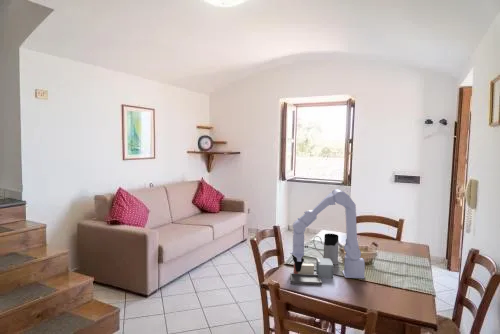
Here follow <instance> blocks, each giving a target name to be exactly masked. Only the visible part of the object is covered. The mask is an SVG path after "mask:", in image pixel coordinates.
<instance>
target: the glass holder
mask: <svg viewBox="0 0 500 334" xmlns="http://www.w3.org/2000/svg"><path fill="white" fill-rule="evenodd" d="M315 238H319V239H320V244H321V245H323V253H322V252H321V251H319V249H318V248H317V247H316V244H315ZM323 239H324V240H323V241H324V243H322V238H321V236H318V235H316V236H314V237H313V241H312V242H313V246H314V248H315V250H316V251H317V252H318V253H319V254H320V255H322V258H330V259H331V261H332V263H333V264H335V265H339V235H338V234H335V233H325V234H324V238H323Z"/></svg>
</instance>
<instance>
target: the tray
mask: <svg viewBox="0 0 500 334" xmlns="http://www.w3.org/2000/svg"><path fill="white" fill-rule="evenodd" d="M289 277H290V285H302V286H303V285H304V286H305V285H306V286H322V283H323V282H322V279H321V277H320V276H319V275H318V273H317V274H315V273H314V274H294V273H293V272H291V273H290V274H289Z"/></svg>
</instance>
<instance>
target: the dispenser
mask: <svg viewBox="0 0 500 334" xmlns="http://www.w3.org/2000/svg"><path fill="white" fill-rule="evenodd" d="M315 266H316V268H315V271H316V272H317V275H319V276H320V279H321V278H325V279H334V265H333V263H332V261H331V259H330V258H323V257H316V265H315Z"/></svg>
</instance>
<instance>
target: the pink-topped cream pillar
mask: <svg viewBox="0 0 500 334" xmlns="http://www.w3.org/2000/svg"><path fill="white" fill-rule="evenodd" d="M293 274H315V265H314V263H302V266H301V270H300V272H296V269H295V263H294V262H293Z"/></svg>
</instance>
